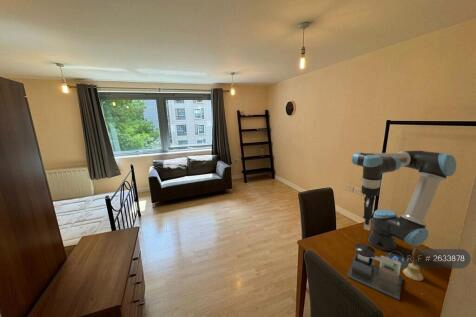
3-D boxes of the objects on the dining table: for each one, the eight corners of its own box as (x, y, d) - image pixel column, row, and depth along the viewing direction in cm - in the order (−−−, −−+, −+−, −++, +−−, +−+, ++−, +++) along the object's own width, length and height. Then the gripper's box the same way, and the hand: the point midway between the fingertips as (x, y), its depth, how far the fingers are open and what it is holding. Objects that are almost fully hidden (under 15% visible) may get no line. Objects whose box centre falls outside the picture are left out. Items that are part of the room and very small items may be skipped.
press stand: (354, 260, 118) (356, 239, 115) (402, 278, 103) (405, 256, 100) (346, 276, 106) (348, 254, 104) (399, 300, 92) (402, 275, 89)
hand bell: (399, 272, 108) (402, 246, 104) (408, 266, 111) (412, 241, 107) (417, 283, 100) (422, 255, 97) (427, 277, 103) (431, 250, 100)
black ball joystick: (356, 255, 113) (357, 241, 111) (393, 269, 102) (395, 254, 100) (351, 264, 107) (353, 249, 105) (391, 280, 96) (393, 264, 94)
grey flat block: (384, 265, 100) (384, 264, 100) (394, 269, 97) (394, 268, 97) (384, 267, 99) (384, 266, 99) (394, 271, 96) (394, 270, 96)
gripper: (364, 181, 105) (361, 221, 110) (358, 188, 96) (355, 232, 101) (381, 183, 100) (377, 226, 105) (377, 191, 91) (373, 237, 96)
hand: (366, 229), depth 103 cm, fingers closed
